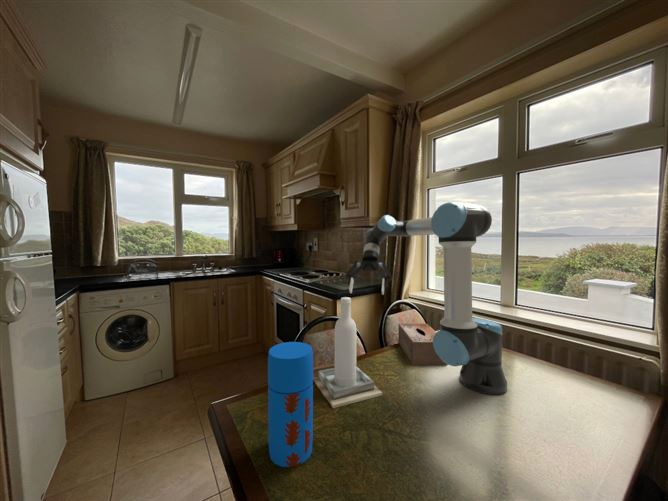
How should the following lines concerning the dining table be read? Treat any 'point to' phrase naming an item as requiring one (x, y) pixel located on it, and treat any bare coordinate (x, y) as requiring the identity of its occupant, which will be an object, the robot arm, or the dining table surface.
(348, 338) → the bottle
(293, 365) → the thermos
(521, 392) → the dining table surface
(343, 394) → the tray
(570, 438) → the dining table surface
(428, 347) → the tissue box cover
